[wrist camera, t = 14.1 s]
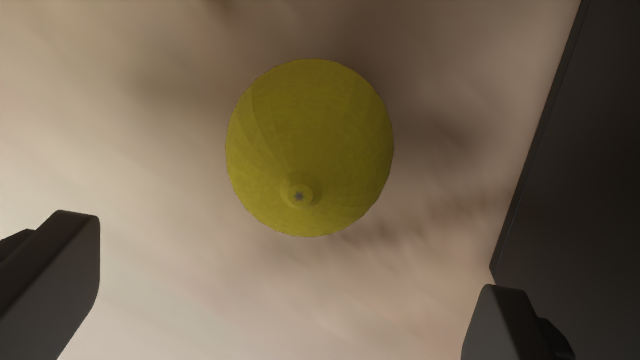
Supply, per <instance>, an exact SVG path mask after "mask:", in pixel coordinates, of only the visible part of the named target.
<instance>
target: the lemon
mask: <svg viewBox="0 0 640 360" xmlns="http://www.w3.org/2000/svg"><path fill="white" fill-rule="evenodd" d="M225 149H226V162H227V171H228V175H229V177H230V180H231V183H232V186H233V189H234V191H235V193H236V195H237V196H238V198H239V199H240V201H241V202H242V203H243V205H244V206H245V208H246V209H247V210H248V211H249V212H250V213H251V214H252V215H253V216H254V217H255V218H256V219H258V220H259V221H260V222H261V223H263V224H265V225H267V226H269V227H270V228H272V229H274V230H276V231H279V232H282V233H286V234H289V235H292V236H303V237H315V236H322V235H329V234H332V233H334V232H337V231H339V230H342V229H344V228H346V227H348V226H349V225H351V224H352V223H353V222H355V221H356V220H358V219H359V218H361V217H362V216H363V215H364V214H365V213H366V212H367V211H368V210H369V208H370V207H371V206H372V205H373V204H374V203H375V201H376V200H377V199H378V197H379V195H380V193H381V191H382V189H383V187H384V185H385V183H386V181H387V179H388V176H389V173H390V168H391V163H392V157H393V151H394V144H393V132H392V124H391V121H390V118H389V116H388V113H387V110H386V107H385V105H384V103H383V101H382V99H381V98H380V97H379V95H378V94H377V92H376V91H375V90H374V88H373V87H372V85H371V84H370V83H368V82H367V81H366V80H365V79H364V78H362V77H361V76H360V75H359V74H358V73H356V72H355V71H354V70H352V69H350V68H348V67H346V66H344V65H341V64H339V63H337V62H334V61H328V60H323V59H318V58H311V59H296V60H293V61H290V62H287V63H284V64H281V65H278V66H275V67H274V68H272V69H270V70H269V71H267V72H266V73H264V74H263V75H261V76H260V77H258V78H257V79H256V80H255V81H254V82H253V83H252V84H251V86H250V87H249V88H248V89H247V90H246V91H245V92H244V93H243V95H242V96H241V97H240V99H239V101H238V103H237V105H236V107H235V109H234V111H233V113H232V115H231V118H230V121H229V126H228V131H227V137H226V143H225Z"/></svg>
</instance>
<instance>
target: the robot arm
mask: <svg viewBox="0 0 640 360" xmlns="http://www.w3.org/2000/svg"><path fill="white" fill-rule="evenodd" d="M99 282H100V222H99V219H98V217H97V216H94V215H88V214H83V213H77V212H71V211H65V210H57V211H56V212H54V213H53V214H52V215H51V216H50V217H49V218H48V219H47V220H46V221H45V222H44V223H43V224H42V225H41V226H39V227H38V228H37V229H36V230H31V229H25V230H22V231H20V232H18V233H16V234H13V235H11V236H9V237H7V238H5V239H2V240H1V241H0V360H57V358H58V357H59V355H60V354H61V352H62V351H63V349H64V348H65V346H66V345H67V344H68V342H69V341H70V339H71V338H72V336H73V335H74V333H75V332H76V331H77V329H78V328H79V326H80V325H81V323H82V322H83V320H84V319H85V317H86V316H87V315H88V313H89V312H90V310H91V308H92V306H93V304H94V302H95V299H96V296H97V293H98V289H99ZM461 360H576V356H575V354H574V352H573V350H572V348H571V346H570V344H569V342H568V340H567V338H566V337H565V336H564V335H563V334H562V333H561V332H560V331H559V330H558V329H557V328H556V327H555V326H554V325H553V324H552V323H551V322H550V321H549V320H548V319H547V318H541V317H537V315H536V313H535V311H534V308H533V306H532V304H531V302H530V300H529V298H528V296H527V294H526V292H525V291H524V290H521V289H515V288H509V287H503V286H497V285H492V284H486V285H485V286H484V287H483V288H482V290H481V292H480V295H479V298H478V301H477V304H476V307H475V310H474V313H473V316H472V319H471V321H470V324H469V327H468V330H467V333H466V336H465V339H464V342H463V346H462V351H461Z"/></svg>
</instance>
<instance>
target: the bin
mask: <svg viewBox="0 0 640 360" xmlns="http://www.w3.org/2000/svg"><path fill="white" fill-rule="evenodd" d="M489 268H490V271H491V273H492V276H493V278H494V281H495V283H496V285H497V286H503V287H509V288H515V289H521V290H524V291H525V292H526V294H527V296H528V298H529V300H530V302H531V304H532V306H533V308H534V311H535V313H536V315H537V317H541V318H547V319H548V320H549V321H550V322H551V323H552V324H553V325H554V326H555V327H556V328H557V329H558V330H559V331H560V332H561V333H562V334H563V335H564V336H565V337H566V338H567V340H568V342H569V344H570V346H571V348H572V350H573V352H574V354H575V356H576V360H640V0H582V1H581V4H580V7H579V10H578V13H577V16H576V19H575V22H574V24H573V27H572V30H571V33H570V36H569V39H568V42H567V45H566V47H565V50H564V53H563V56H562V59H561V62H560V65H559V68H558V70H557V73H556V76H555V79H554V82H553V85H552V88H551V91H550V93H549V96H548V99H547V102H546V105H545V108H544V111H543V113H542V116H541V119H540V122H539V125H538V128H537V131H536V134H535V136H534V139H533V142H532V145H531V148H530V151H529V154H528V157H527V159H526V162H525V165H524V168H523V171H522V174H521V177H520V180H519V182H518V185H517V188H516V191H515V194H514V197H513V200H512V203H511V205H510V208H509V211H508V214H507V217H506V220H505V223H504V225H503V228H502V231H501V234H500V237H499V240H498V243H497V246H496V248H495V251H494V254H493V257H492V260H491V263H490V266H489Z"/></svg>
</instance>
